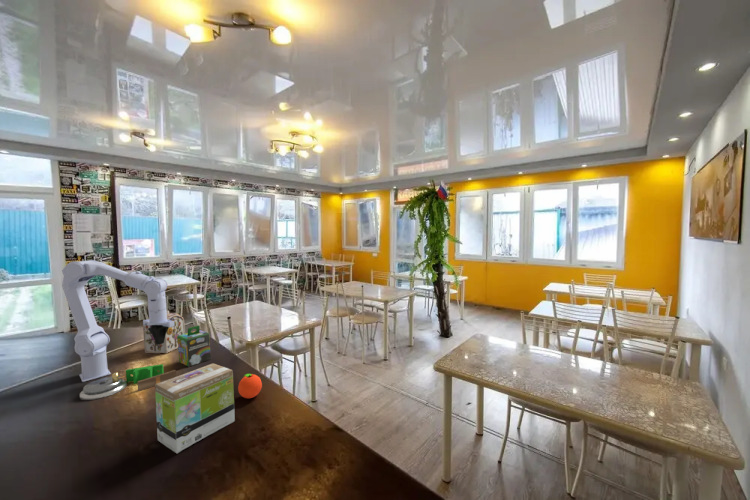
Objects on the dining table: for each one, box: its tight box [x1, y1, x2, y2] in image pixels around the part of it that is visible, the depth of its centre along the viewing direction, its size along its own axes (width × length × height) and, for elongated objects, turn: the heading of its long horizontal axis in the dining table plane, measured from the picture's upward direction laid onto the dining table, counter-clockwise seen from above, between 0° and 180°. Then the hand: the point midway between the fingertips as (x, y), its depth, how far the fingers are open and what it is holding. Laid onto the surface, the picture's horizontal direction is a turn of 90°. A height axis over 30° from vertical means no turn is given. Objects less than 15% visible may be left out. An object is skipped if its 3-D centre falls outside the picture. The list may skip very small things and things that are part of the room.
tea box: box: [154, 363, 236, 454], centre depth 80 cm, size 15×10×15 cm
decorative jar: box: [142, 309, 186, 354], centre depth 144 cm, size 12×12×18 cm
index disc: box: [82, 371, 126, 395], centre depth 105 cm, size 10×10×4 cm
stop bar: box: [137, 369, 177, 392], centre depth 108 cm, size 1×11×3 cm, turn 139°
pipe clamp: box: [125, 363, 165, 385], centre depth 112 cm, size 11×4×5 cm, turn 110°
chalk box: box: [177, 325, 212, 368], centre depth 128 cm, size 9×9×15 cm
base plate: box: [79, 379, 128, 401], centre depth 105 cm, size 12×12×1 cm
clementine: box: [237, 373, 263, 399], centre depth 97 cm, size 8×7×7 cm
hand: (160, 343), depth 121 cm, fingers closed
